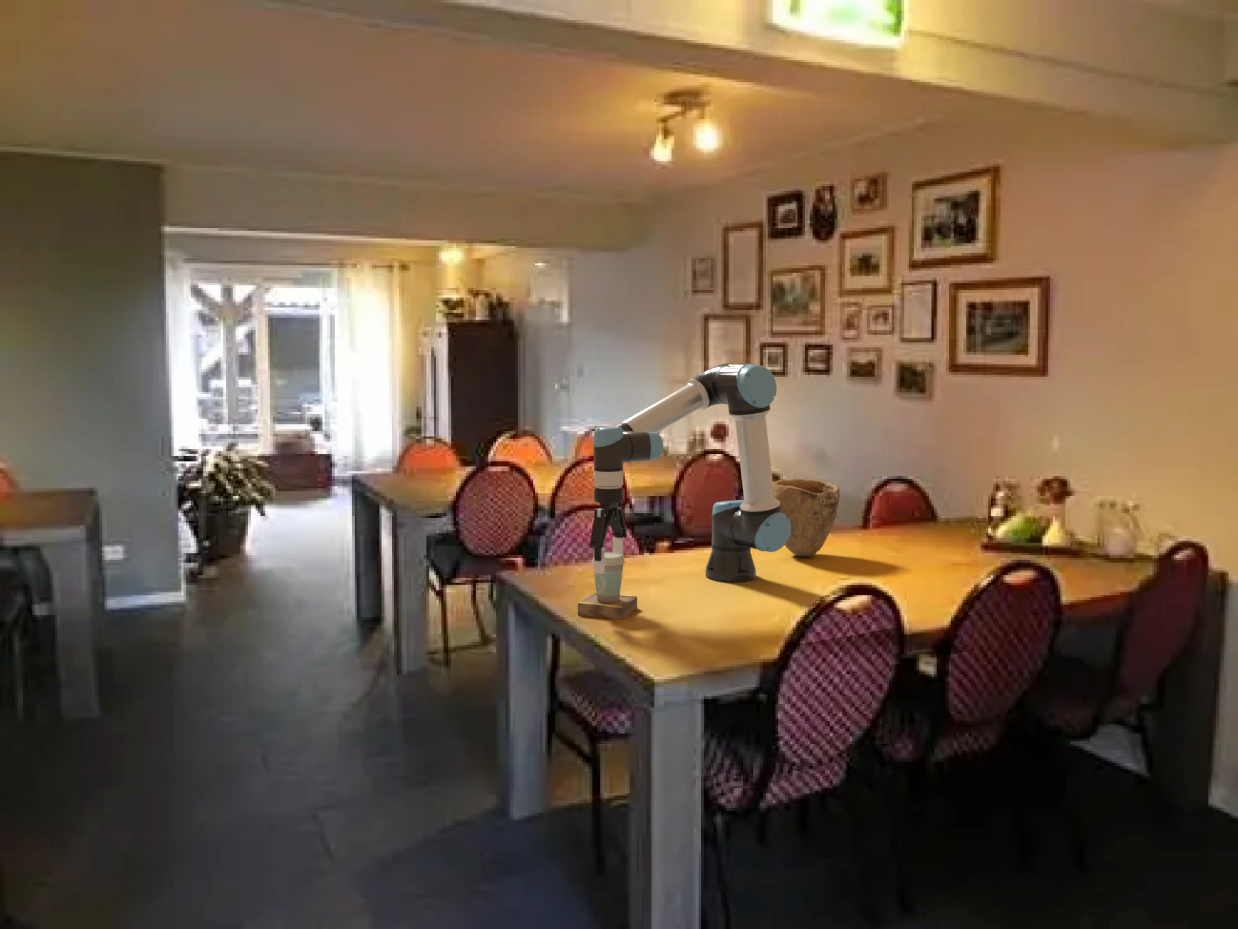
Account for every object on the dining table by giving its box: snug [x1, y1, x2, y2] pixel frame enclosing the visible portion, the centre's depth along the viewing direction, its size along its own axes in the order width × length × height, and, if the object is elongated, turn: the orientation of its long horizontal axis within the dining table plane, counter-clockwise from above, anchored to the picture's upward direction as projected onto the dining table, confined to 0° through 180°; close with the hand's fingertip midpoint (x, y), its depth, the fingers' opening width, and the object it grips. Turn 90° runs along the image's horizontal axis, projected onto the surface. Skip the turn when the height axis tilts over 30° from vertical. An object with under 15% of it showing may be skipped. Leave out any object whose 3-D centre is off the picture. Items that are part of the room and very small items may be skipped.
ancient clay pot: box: [773, 478, 841, 558], centre depth 331 cm, size 22×22×25 cm
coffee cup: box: [591, 551, 626, 603], centre depth 262 cm, size 9×8×12 cm
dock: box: [577, 591, 638, 620], centre depth 262 cm, size 12×12×3 cm
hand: (608, 567), depth 261 cm, fingers open, 13 cm apart
